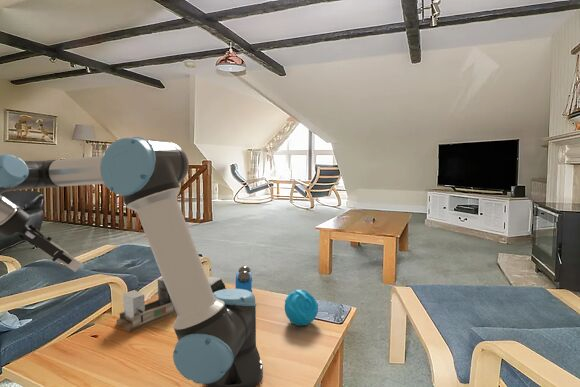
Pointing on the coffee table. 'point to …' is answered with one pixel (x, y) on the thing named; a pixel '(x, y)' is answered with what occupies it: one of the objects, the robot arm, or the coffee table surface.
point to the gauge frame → (151, 311)
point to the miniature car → (216, 284)
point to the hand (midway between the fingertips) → (71, 262)
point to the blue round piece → (301, 307)
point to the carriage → (133, 304)
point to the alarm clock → (244, 278)
